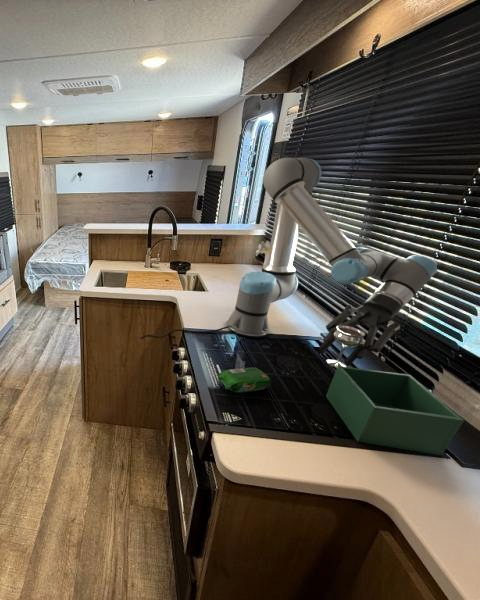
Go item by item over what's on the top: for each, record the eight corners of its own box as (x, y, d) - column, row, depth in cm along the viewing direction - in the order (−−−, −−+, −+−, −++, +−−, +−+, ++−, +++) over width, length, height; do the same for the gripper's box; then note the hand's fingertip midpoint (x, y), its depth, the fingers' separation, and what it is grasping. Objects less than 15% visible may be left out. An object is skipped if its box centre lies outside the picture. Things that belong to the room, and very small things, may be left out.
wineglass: (341, 372, 92) (356, 338, 87) (318, 360, 98) (331, 327, 93) (355, 367, 94) (371, 333, 89) (332, 355, 100) (345, 323, 95)
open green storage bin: (357, 441, 75) (374, 407, 70) (325, 396, 90) (337, 365, 85) (441, 455, 71) (464, 420, 67) (393, 406, 86) (410, 374, 81)
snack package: (212, 382, 96) (214, 368, 94) (257, 376, 98) (261, 363, 96) (225, 398, 89) (228, 383, 87) (273, 391, 91) (277, 377, 89)
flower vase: (266, 280, 181) (277, 237, 171) (279, 291, 164) (292, 245, 154) (243, 278, 183) (252, 237, 173) (253, 290, 166) (264, 244, 156)
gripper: (431, 321, 85) (372, 381, 87) (353, 295, 102) (304, 346, 104) (429, 307, 82) (368, 370, 83) (348, 282, 98) (298, 335, 100)
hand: (333, 357), depth 93 cm, fingers closed on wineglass, 7 cm apart
